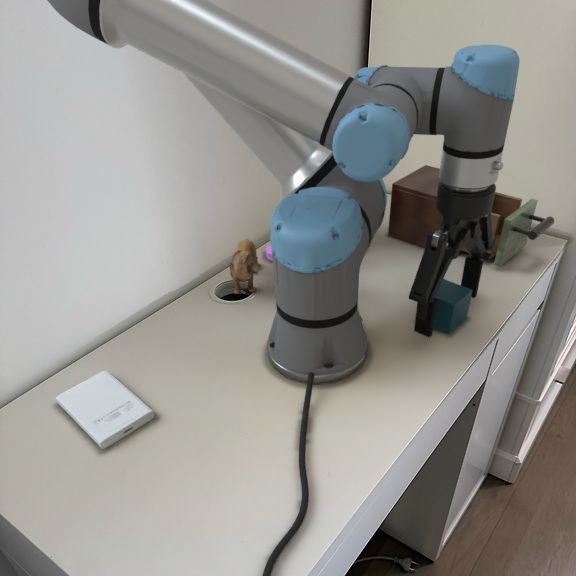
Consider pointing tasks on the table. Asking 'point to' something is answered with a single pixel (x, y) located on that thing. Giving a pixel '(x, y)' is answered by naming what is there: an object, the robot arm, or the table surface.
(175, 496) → the table surface
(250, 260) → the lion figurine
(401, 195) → the cabinet
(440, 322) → the block
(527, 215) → the drawer
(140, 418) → the hard drive
